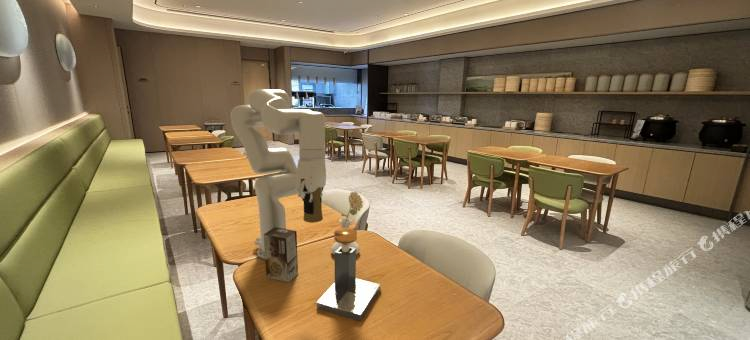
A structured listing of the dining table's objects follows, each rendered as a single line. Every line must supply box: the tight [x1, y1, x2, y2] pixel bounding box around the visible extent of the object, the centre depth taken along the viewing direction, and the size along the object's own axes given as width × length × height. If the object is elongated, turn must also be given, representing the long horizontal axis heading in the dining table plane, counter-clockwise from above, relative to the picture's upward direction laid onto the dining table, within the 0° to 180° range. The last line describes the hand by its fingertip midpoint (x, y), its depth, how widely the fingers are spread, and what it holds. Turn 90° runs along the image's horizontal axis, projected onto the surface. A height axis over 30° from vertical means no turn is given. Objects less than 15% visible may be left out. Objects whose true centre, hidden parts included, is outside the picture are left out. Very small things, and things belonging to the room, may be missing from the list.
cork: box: [303, 187, 324, 224], centre depth 99 cm, size 6×6×11 cm
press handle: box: [333, 227, 358, 254], centre depth 100 cm, size 7×7×13 cm
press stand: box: [316, 246, 382, 322], centre depth 97 cm, size 14×16×14 cm
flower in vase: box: [330, 191, 364, 255], centre depth 124 cm, size 13×11×25 cm
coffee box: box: [264, 227, 299, 283], centre depth 108 cm, size 9×6×16 cm
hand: (312, 210), depth 99 cm, fingers closed on cork, 3 cm apart
